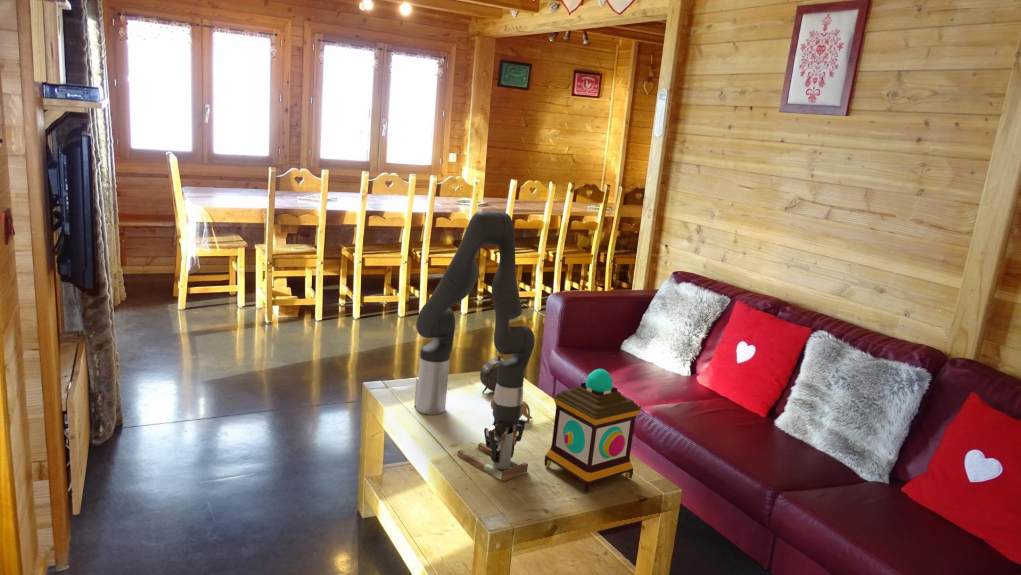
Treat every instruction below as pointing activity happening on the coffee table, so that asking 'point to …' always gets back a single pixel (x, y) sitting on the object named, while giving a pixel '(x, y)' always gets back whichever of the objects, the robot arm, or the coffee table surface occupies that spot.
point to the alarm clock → (490, 373)
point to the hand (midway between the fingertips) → (502, 459)
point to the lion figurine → (523, 411)
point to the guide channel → (504, 475)
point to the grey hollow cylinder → (505, 452)
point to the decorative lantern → (593, 430)
